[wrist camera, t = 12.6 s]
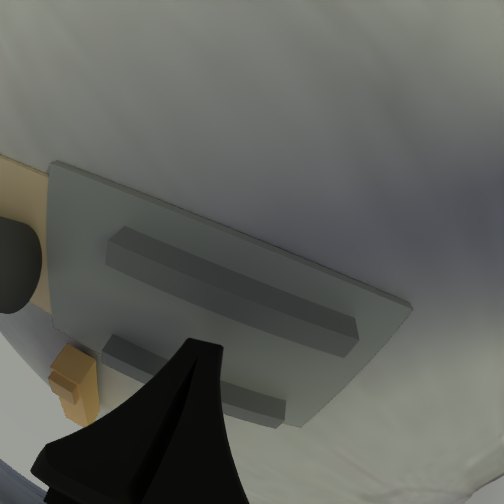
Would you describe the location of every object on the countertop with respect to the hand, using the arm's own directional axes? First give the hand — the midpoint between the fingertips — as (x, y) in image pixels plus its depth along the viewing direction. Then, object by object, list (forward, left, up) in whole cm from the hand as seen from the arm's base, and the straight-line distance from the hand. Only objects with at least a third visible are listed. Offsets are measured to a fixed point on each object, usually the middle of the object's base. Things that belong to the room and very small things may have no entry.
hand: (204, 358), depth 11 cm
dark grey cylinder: (+12, +1, -1) cm, 12 cm away
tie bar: (+6, +9, -1) cm, 11 cm away
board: (+4, 0, -2) cm, 5 cm away
